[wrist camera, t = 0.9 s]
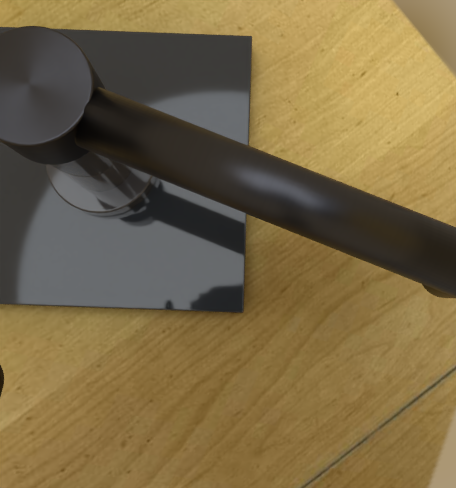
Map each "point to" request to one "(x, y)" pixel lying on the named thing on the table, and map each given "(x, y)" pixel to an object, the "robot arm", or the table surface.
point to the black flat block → (132, 191)
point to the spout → (203, 161)
